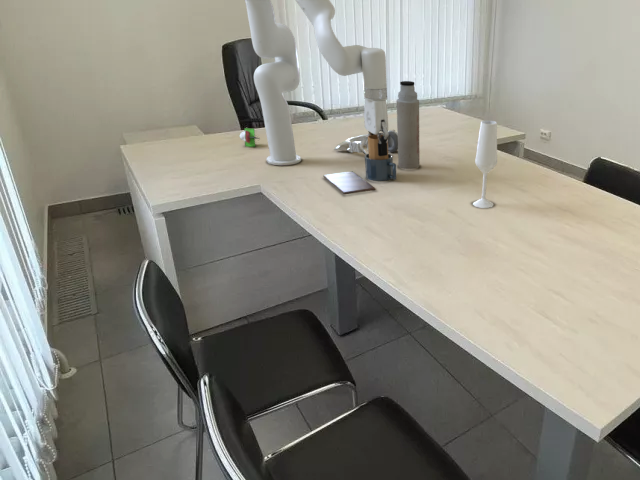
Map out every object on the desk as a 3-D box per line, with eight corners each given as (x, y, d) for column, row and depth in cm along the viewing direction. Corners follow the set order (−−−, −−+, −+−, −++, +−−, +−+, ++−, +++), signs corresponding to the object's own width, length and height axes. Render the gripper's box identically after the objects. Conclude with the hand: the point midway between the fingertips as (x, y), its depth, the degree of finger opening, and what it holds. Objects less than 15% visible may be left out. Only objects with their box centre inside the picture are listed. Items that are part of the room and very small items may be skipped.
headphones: (410, 148, 217) (371, 146, 228) (408, 128, 213) (368, 126, 224) (374, 160, 203) (334, 157, 214) (371, 138, 199) (330, 136, 210)
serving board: (323, 178, 186) (323, 175, 186) (352, 174, 191) (352, 171, 190) (344, 196, 173) (343, 192, 172) (375, 191, 178) (374, 187, 177)
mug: (360, 178, 188) (358, 155, 183) (380, 172, 194) (379, 150, 189) (386, 186, 181) (385, 163, 177) (405, 180, 187) (405, 158, 182)
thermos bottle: (421, 165, 202) (421, 80, 184) (416, 171, 196) (415, 84, 178) (401, 163, 203) (399, 79, 186) (395, 169, 197) (393, 82, 179)
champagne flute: (478, 209, 167) (483, 125, 152) (469, 202, 172) (473, 120, 157) (497, 206, 170) (504, 124, 154) (487, 199, 174) (493, 119, 159)
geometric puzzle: (247, 136, 219) (239, 122, 211) (263, 137, 218) (255, 123, 211) (244, 151, 217) (235, 137, 210) (260, 152, 217) (251, 138, 209)
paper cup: (367, 175, 189) (364, 135, 181) (384, 173, 191) (382, 133, 183) (374, 180, 184) (372, 140, 176) (392, 178, 187) (390, 138, 179)
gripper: (354, 90, 176) (358, 147, 187) (375, 99, 164) (378, 160, 176) (375, 88, 179) (378, 145, 190) (397, 98, 167) (399, 158, 179)
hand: (378, 152), depth 183 cm, fingers closed on paper cup, 6 cm apart
